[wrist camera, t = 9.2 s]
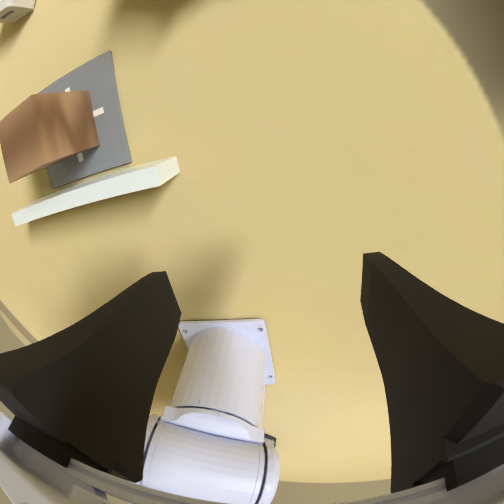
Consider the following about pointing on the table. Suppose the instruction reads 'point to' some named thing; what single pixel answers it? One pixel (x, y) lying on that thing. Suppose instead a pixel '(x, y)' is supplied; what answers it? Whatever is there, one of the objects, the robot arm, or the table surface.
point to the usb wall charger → (15, 9)
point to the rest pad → (106, 120)
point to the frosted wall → (100, 189)
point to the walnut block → (46, 131)
